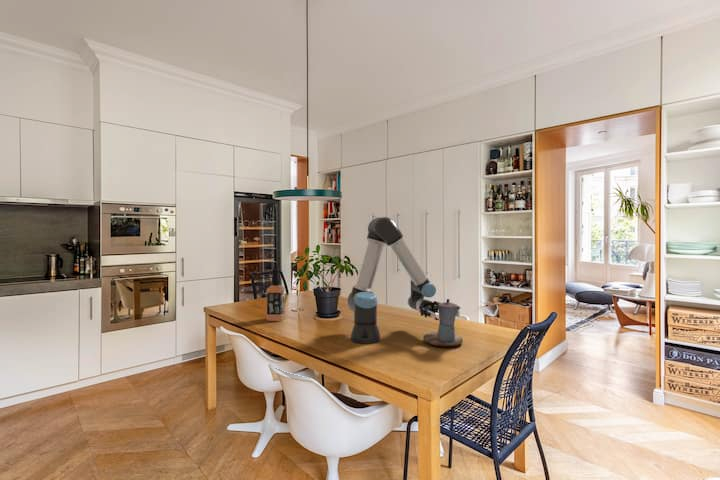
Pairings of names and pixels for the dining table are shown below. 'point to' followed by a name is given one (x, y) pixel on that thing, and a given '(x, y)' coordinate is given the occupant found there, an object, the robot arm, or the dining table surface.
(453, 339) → the moka pot
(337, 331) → the dining table surface
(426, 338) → the disc
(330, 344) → the dining table surface
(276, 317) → the whiskey bottle
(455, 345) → the turntable base
